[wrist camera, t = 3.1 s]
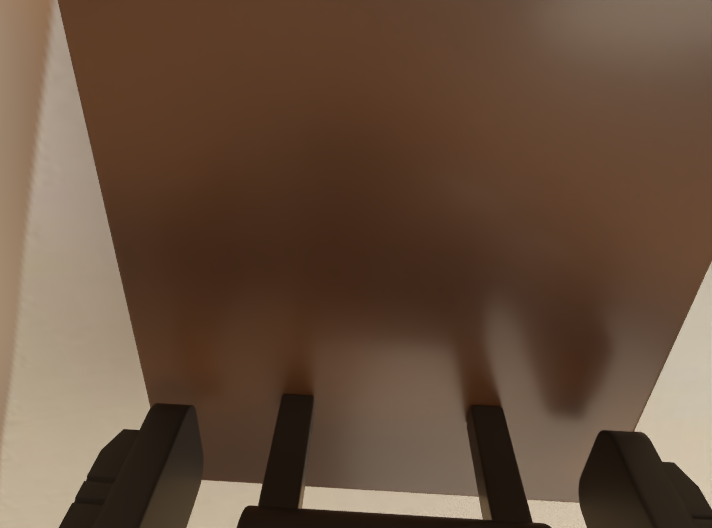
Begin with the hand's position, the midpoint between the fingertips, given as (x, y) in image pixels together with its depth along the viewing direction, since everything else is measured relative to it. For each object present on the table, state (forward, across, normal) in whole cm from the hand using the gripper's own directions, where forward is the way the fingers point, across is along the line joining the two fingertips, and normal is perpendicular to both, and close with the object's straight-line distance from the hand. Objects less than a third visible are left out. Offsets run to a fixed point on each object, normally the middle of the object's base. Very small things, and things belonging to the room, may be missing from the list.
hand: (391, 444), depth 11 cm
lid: (+2, 0, -3) cm, 3 cm away
